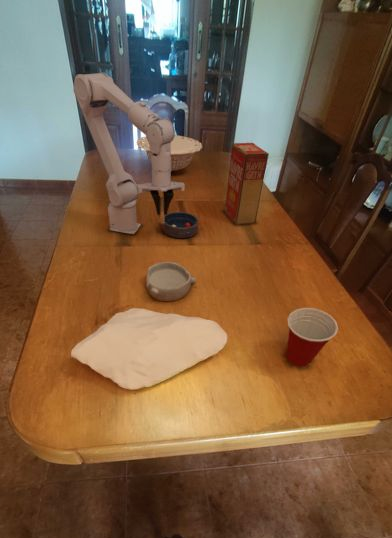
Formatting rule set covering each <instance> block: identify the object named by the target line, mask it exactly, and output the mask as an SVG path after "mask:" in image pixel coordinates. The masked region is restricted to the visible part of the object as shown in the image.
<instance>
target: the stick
mask: <svg viewBox="0 0 392 538" xmlns="http://www.w3.org/2000/svg"><path fill="white" fill-rule="evenodd" d="M158 222H159V224H162V223H165V207H164V196H160V215H158Z"/></svg>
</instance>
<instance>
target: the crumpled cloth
mask: <svg viewBox="0 0 392 538" xmlns="http://www.w3.org/2000/svg"><path fill="white" fill-rule="evenodd" d="M228 340H229V337H228V334H227V333H226V331H225V330H224V329H223V328H222V327H221V325H220V324H219V323H218V322H217V321H215V320H212V319H206V318H202V317H199V316H185V315H181V314H178V313H172V312H169V313H163V312H158V311H153V310H150V309H146V308H141V307H139V308H138V307H133V308H129V309H128V310H125V311H121V312H116V313H115V314H113V316H111V317H110V318H109V320H108V321H107V322H105V323H103V324H102V325H100V326H99V327H98V328H97V330H95V331H94V332H93V333H91V334H89V335H88V336H87V337H85V338H84V339H82V340H81V341H79V342H78V343H77V344H75V345H74V347H73V348H72V349H71V352H70V356H71V358H74V359H75V360H77V361H79V362H80V363H81V364H83V365H87V366H89V367H90V369H91V370H93V371H94V372H96V373H98V374H99V375H101V376H102V377H104V378H108V379H110V380H111V381H112V382H113V383H115V384H117V385H118V386H119V387H120V388H122V389H125V390H129V391H134V390H135V391H136V390H140V389H143V388H151V387H152V386H154V385H158V384H159V383H161V382H164V381H167V380H169V379H170V378H173V377H174V376H176V375H178V374H179V373H181V372H184V371H185V370H186V369H189V368H191V367H193V366H195V365H196V364H198V363H200V362H203V361H205V360H207V359H209V358H210V357H212V356H215V355H217V354H218V353H219V352H221V351H222V350H223V349H224V348H225V347H226V345H227V343H228Z"/></svg>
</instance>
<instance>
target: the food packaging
mask: <svg viewBox="0 0 392 538" xmlns="http://www.w3.org/2000/svg"><path fill="white" fill-rule="evenodd" d="M269 155H270V154H269V153H268V152H267V151H266V150H264V149H262V148H261V147H260V146H258V145H257V144H255V143H254V142H233V143H232V144H231V151H230V160H229V169H228V178H227V186H226V187H227V188H226V196H225V204H224V209H223V210H224V211H223V212H224V213H225V214H226V215H227V217H228V218H229V219H230V220H231V221H232V223H233V224H234V225H235V226H238V225H239V226H240V225H251V224H255V223H256V221H257V215H258V210H259V206H260V200H261V195H262V190H263V185H264V180H265V174H266V169H267V166H268V161H269Z"/></svg>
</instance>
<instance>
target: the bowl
mask: <svg viewBox="0 0 392 538" xmlns="http://www.w3.org/2000/svg"><path fill="white" fill-rule="evenodd" d="M186 223H190V225H191V227H185V224H186ZM172 225H176V227H173V226H172ZM199 225H200V220H199V217H197V216H196V215H195V214H193V213H189V212H184V211H173V212H167V215H165V223H161V228H162V229H161V230H162V232H163V233H164V234H165V235H167V236H169V237H171V238H175V239H188V238H191V237H195V235H197V234H198V232H199Z"/></svg>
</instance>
